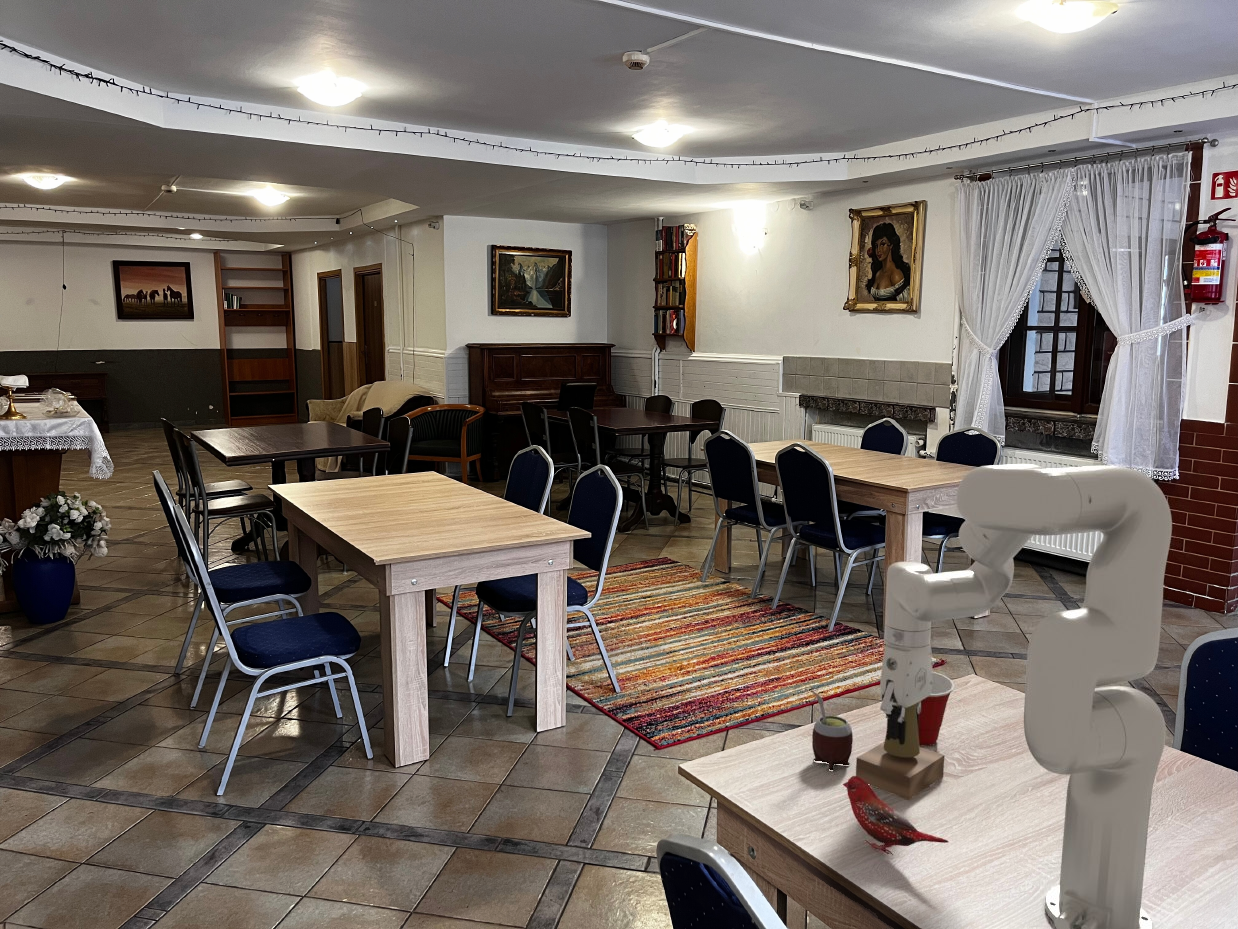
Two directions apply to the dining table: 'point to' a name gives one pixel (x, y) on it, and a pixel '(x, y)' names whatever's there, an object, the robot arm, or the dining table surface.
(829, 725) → the mate gourd
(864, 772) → the walnut plinth
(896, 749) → the olive pawn figure
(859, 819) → the decorative bird figurine
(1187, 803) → the dining table surface
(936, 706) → the plastic cup
